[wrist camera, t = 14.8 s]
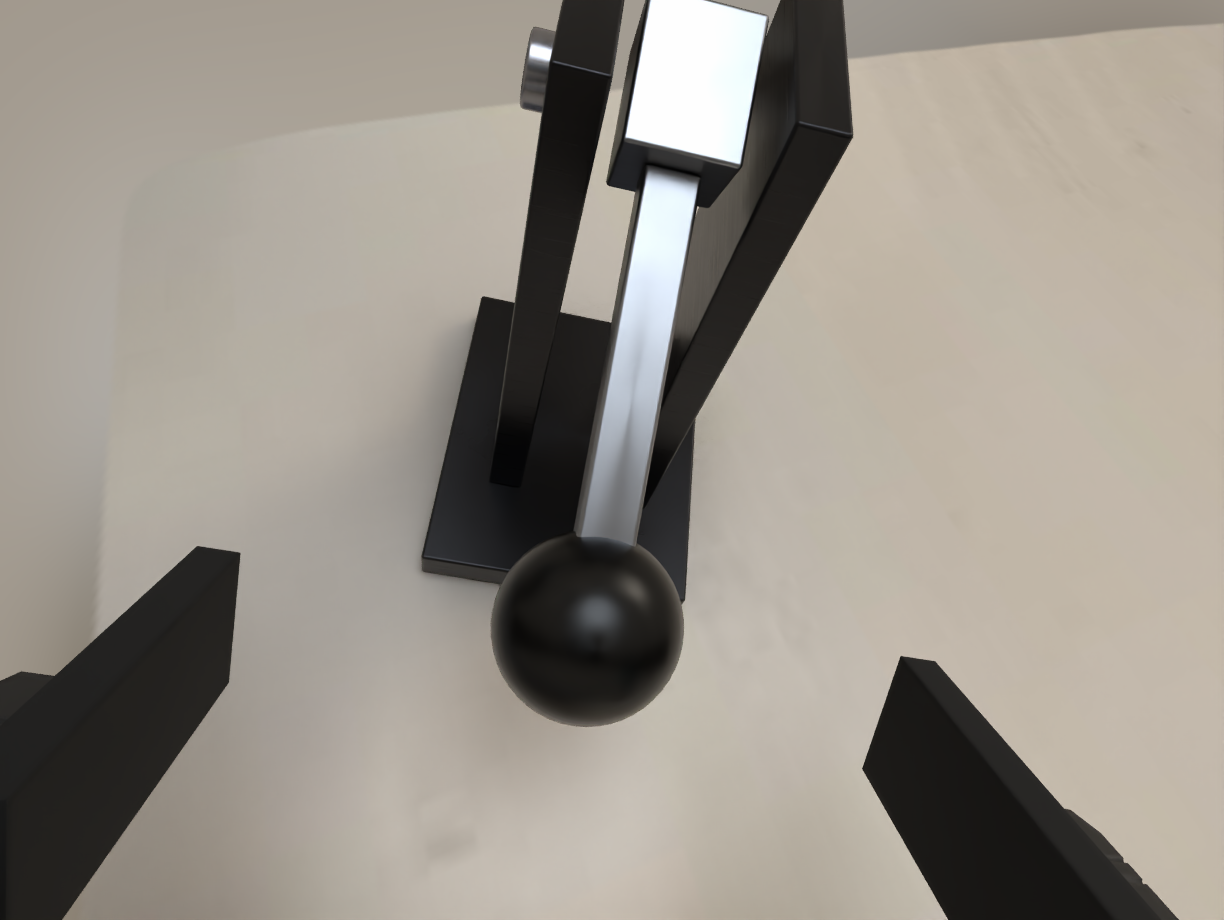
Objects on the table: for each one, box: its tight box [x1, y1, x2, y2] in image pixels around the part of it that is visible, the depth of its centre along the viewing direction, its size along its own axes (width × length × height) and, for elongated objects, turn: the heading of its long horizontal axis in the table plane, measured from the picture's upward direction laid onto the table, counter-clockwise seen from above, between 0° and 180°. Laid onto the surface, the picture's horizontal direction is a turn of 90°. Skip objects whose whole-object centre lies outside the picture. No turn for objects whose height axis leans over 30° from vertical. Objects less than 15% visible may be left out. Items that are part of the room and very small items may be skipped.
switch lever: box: [491, 0, 769, 727], centre depth 15 cm, size 13×4×4 cm, turn 174°
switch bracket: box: [422, 0, 853, 604], centre depth 20 cm, size 10×8×16 cm
